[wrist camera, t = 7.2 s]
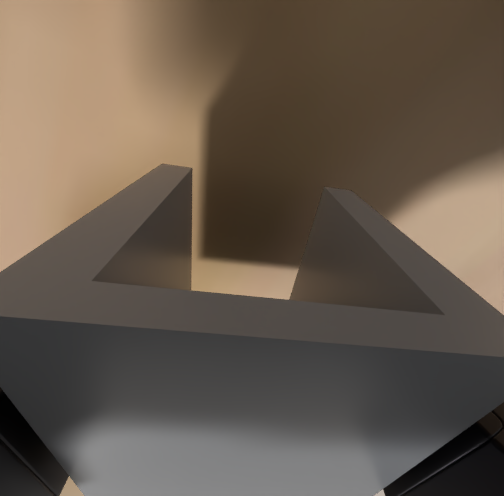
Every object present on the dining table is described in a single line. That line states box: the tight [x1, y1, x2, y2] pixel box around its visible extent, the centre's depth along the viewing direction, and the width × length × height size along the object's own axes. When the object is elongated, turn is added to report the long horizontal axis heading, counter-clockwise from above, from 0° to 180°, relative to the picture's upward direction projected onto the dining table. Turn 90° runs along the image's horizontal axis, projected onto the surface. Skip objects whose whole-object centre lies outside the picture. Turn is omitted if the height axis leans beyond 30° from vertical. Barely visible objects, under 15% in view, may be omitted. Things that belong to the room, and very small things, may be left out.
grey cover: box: [0, 164, 504, 496], centre depth 7 cm, size 7×7×6 cm
